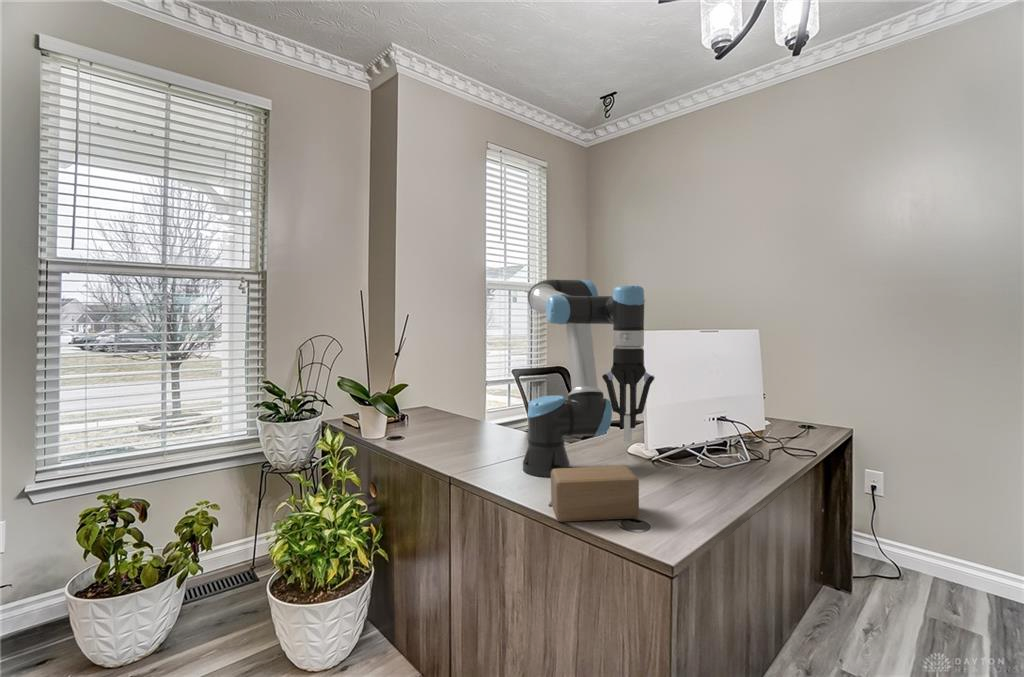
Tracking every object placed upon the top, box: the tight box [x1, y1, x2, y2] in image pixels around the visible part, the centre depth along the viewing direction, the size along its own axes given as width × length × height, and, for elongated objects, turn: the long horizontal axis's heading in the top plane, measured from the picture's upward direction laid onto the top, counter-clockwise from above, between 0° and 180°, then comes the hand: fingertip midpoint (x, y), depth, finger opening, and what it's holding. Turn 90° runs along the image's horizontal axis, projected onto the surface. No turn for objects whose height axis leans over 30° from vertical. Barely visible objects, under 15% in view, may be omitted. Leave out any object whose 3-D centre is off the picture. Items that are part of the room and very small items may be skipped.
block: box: [550, 465, 640, 523], centre depth 118 cm, size 10×10×20 cm
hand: (627, 440), depth 121 cm, fingers closed
